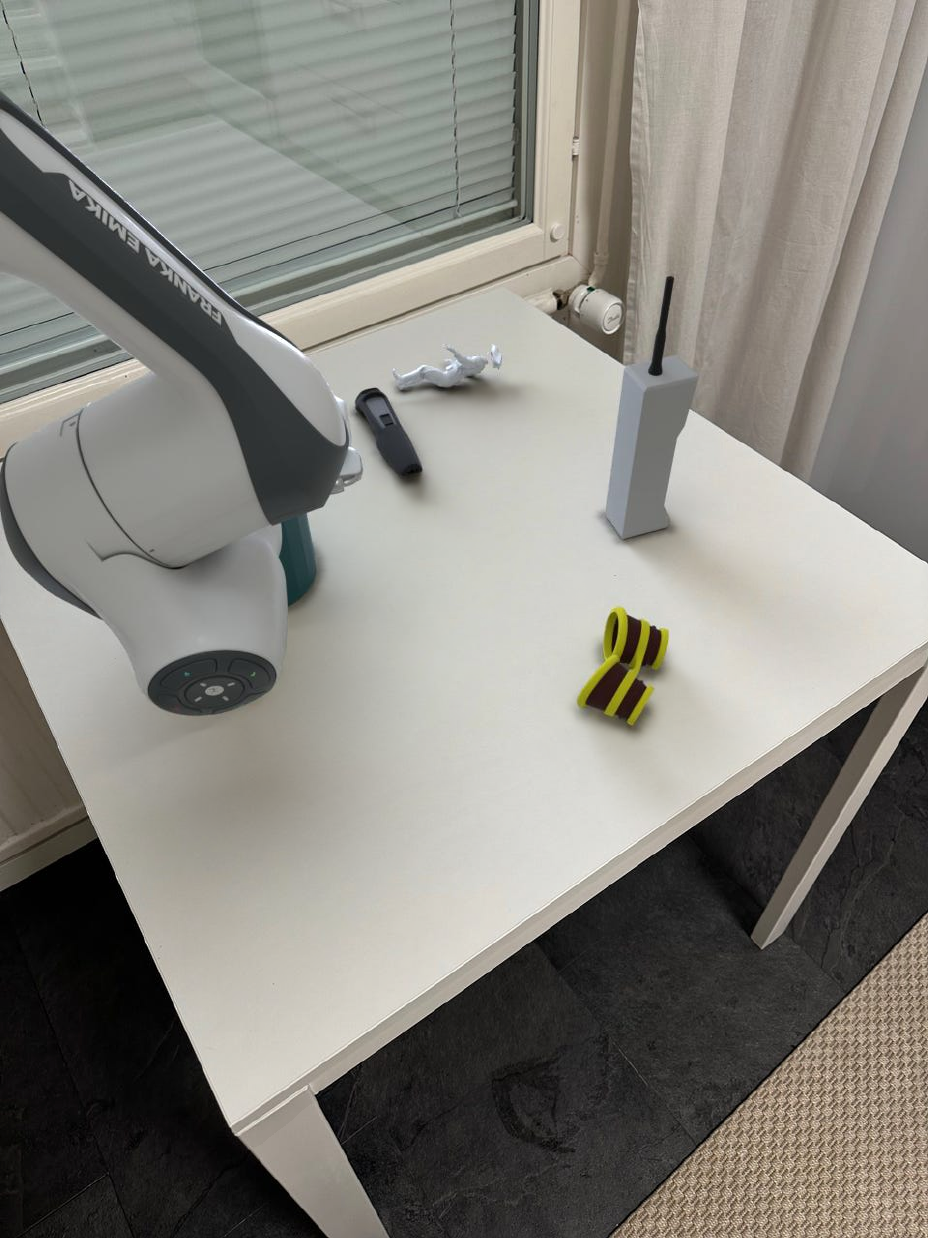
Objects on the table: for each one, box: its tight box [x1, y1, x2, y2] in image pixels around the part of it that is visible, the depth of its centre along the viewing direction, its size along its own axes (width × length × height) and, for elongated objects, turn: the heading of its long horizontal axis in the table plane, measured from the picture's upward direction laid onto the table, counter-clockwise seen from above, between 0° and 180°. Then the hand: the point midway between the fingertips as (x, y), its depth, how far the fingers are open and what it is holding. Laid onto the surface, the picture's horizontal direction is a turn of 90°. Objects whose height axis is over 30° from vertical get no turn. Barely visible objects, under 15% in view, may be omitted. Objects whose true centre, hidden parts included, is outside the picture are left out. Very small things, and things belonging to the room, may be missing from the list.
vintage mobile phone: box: [604, 275, 699, 540], centre depth 77 cm, size 4×5×25 cm
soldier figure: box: [392, 343, 503, 391], centre depth 101 cm, size 8×5×12 cm
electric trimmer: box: [354, 387, 423, 478], centre depth 94 cm, size 4×16×3 cm, turn 21°
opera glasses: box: [576, 606, 670, 727], centre depth 71 cm, size 10×5×5 cm, turn 159°
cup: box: [279, 513, 317, 608], centre depth 78 cm, size 11×11×11 cm
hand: (211, 393), depth 69 cm, fingers closed on brush, 2 cm apart
